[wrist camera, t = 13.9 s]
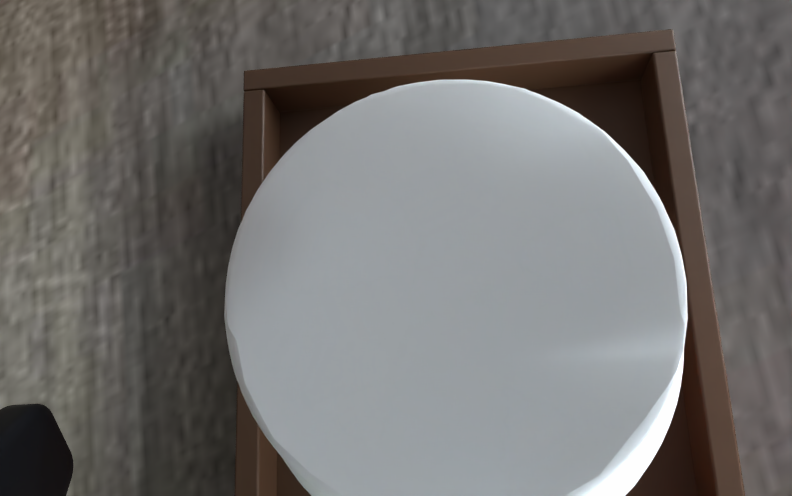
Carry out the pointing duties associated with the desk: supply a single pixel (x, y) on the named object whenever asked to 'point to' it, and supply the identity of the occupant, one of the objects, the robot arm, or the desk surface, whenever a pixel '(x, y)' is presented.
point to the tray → (606, 108)
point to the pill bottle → (458, 300)
